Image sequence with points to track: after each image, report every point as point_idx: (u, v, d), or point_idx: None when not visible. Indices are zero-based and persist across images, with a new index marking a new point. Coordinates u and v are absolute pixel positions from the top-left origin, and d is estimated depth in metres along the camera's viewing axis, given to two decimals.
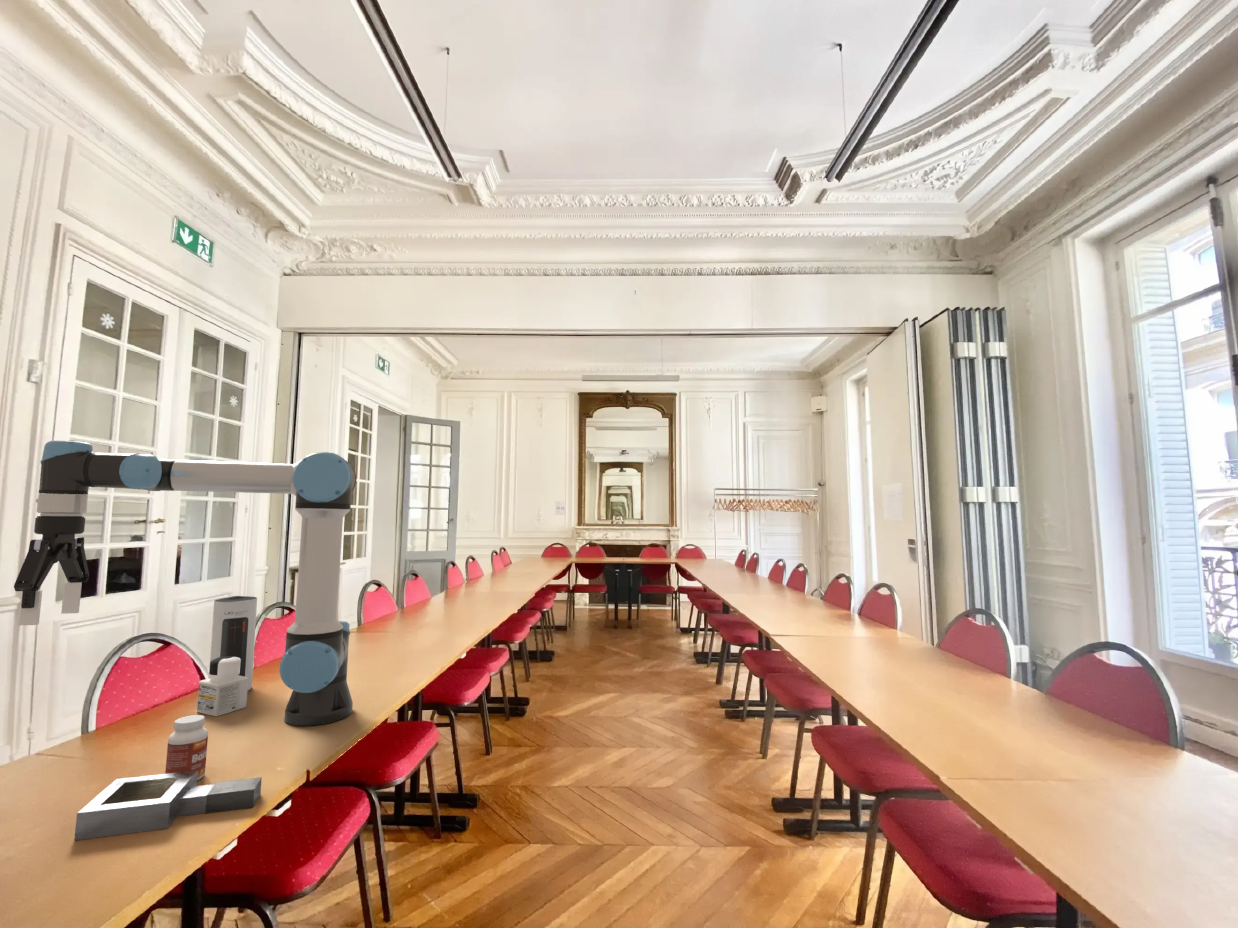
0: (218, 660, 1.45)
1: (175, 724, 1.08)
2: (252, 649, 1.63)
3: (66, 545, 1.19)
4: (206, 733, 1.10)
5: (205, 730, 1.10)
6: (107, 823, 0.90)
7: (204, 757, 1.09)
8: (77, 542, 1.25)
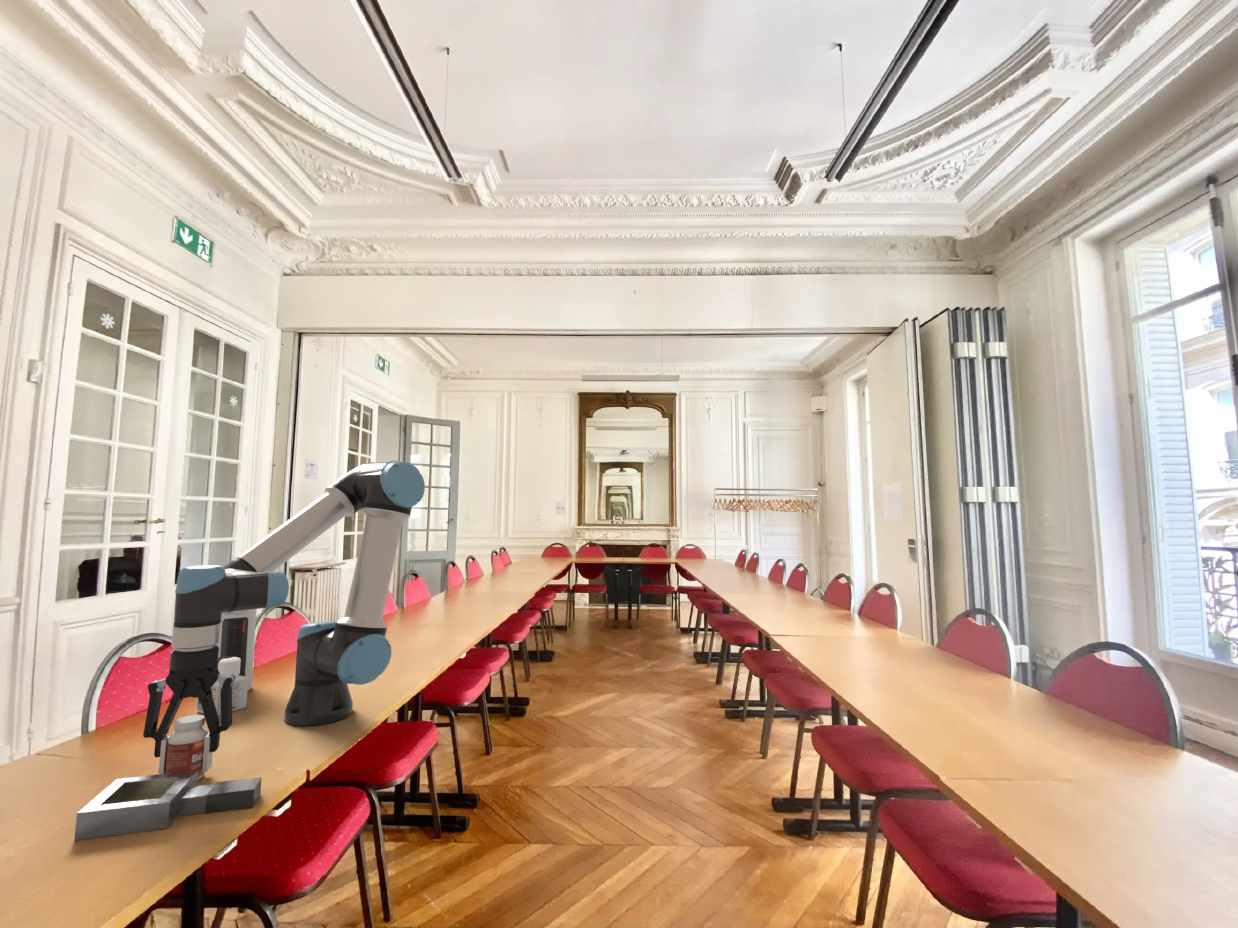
0: (218, 660, 1.45)
1: (175, 724, 1.08)
2: (252, 649, 1.63)
3: (181, 683, 1.08)
4: (206, 733, 1.10)
5: (205, 730, 1.10)
6: (107, 823, 0.90)
7: None
8: (224, 682, 1.11)
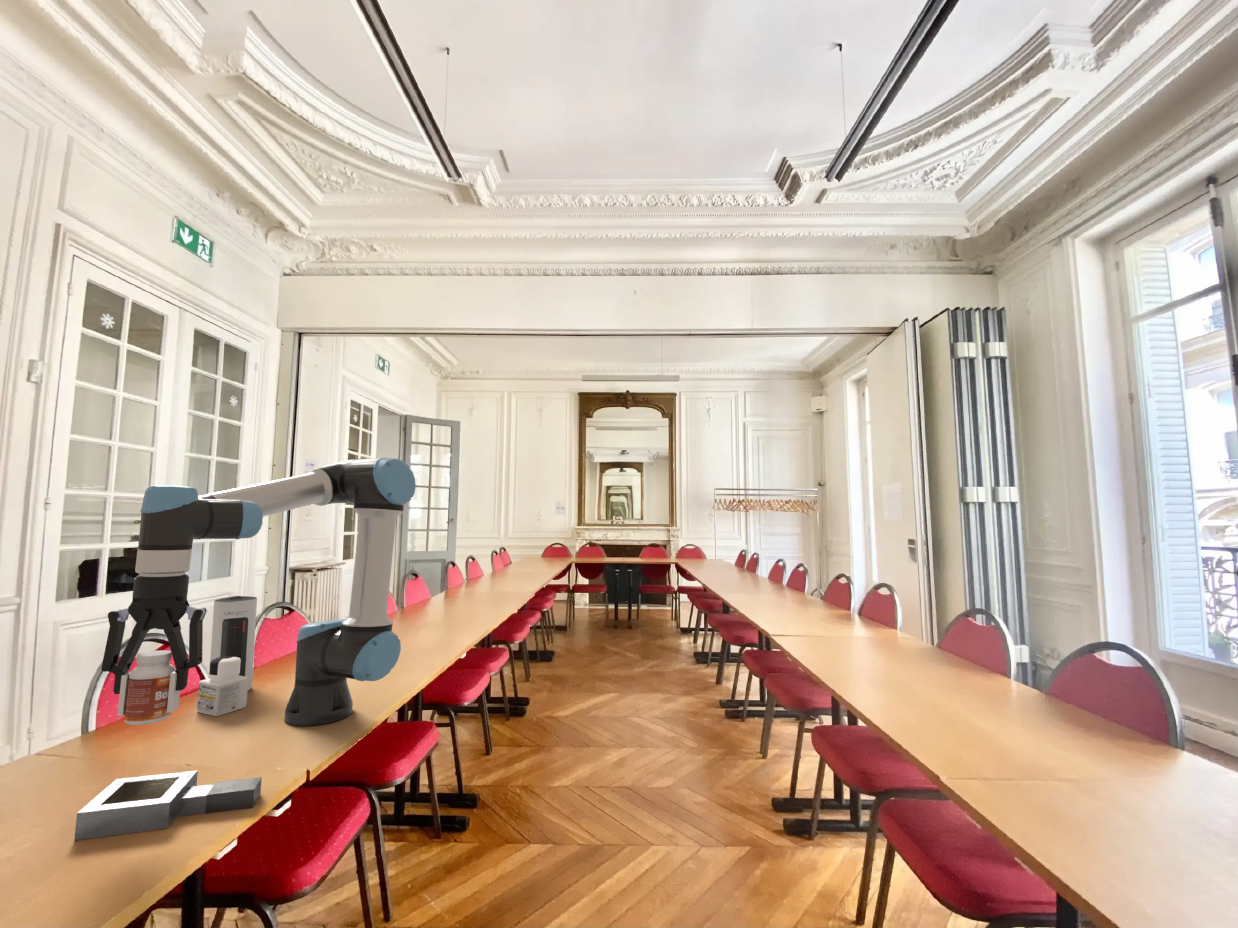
0: (218, 660, 1.45)
1: (137, 657, 0.97)
2: (252, 649, 1.63)
3: (144, 612, 0.97)
4: (172, 669, 0.99)
5: (171, 666, 0.99)
6: (107, 823, 0.90)
7: None
8: None
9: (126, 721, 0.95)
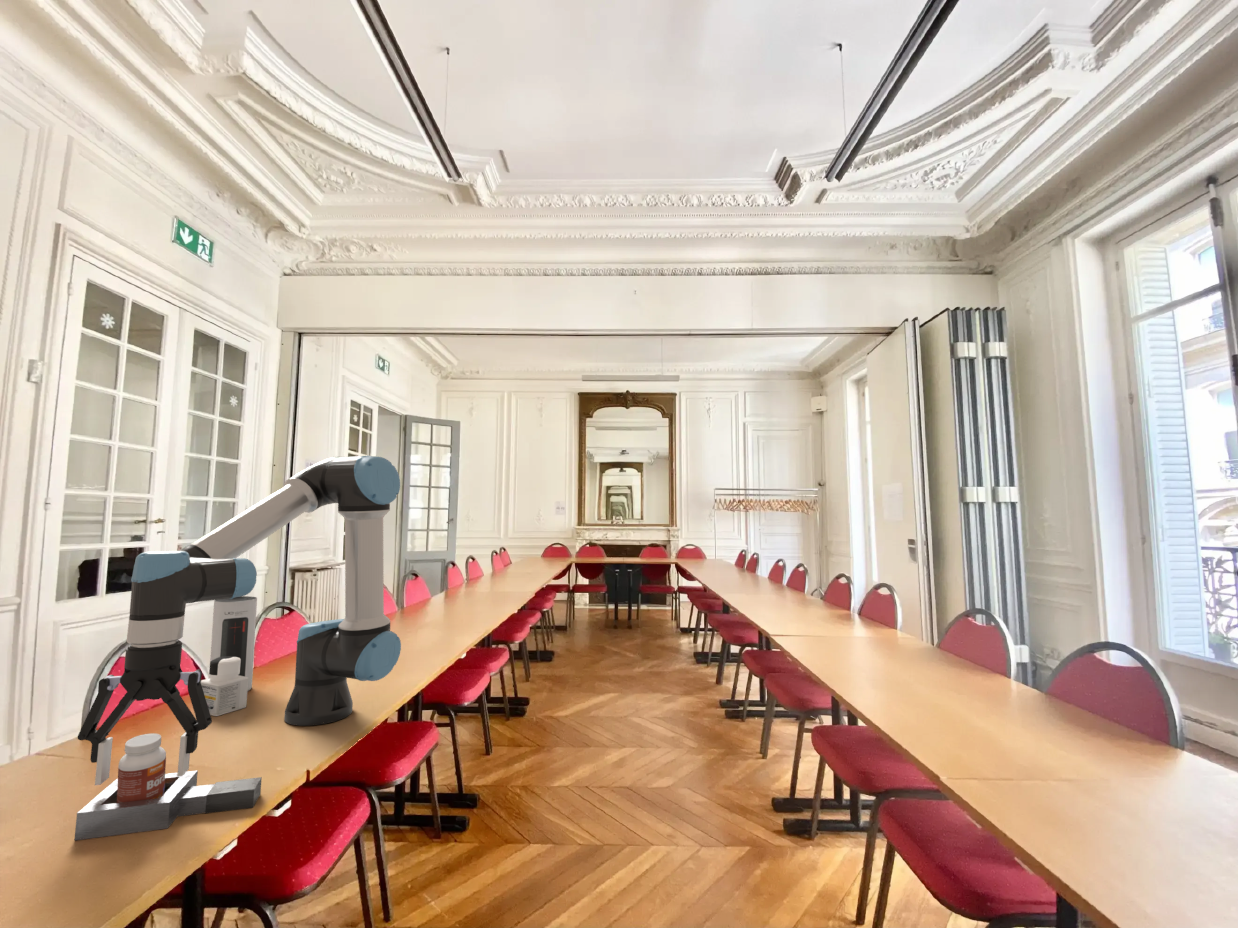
0: (218, 660, 1.45)
1: (126, 747, 0.94)
2: (252, 649, 1.63)
3: (137, 683, 0.95)
4: (163, 755, 0.97)
5: (162, 752, 0.97)
6: (107, 823, 0.90)
7: (162, 781, 0.96)
8: None
9: None
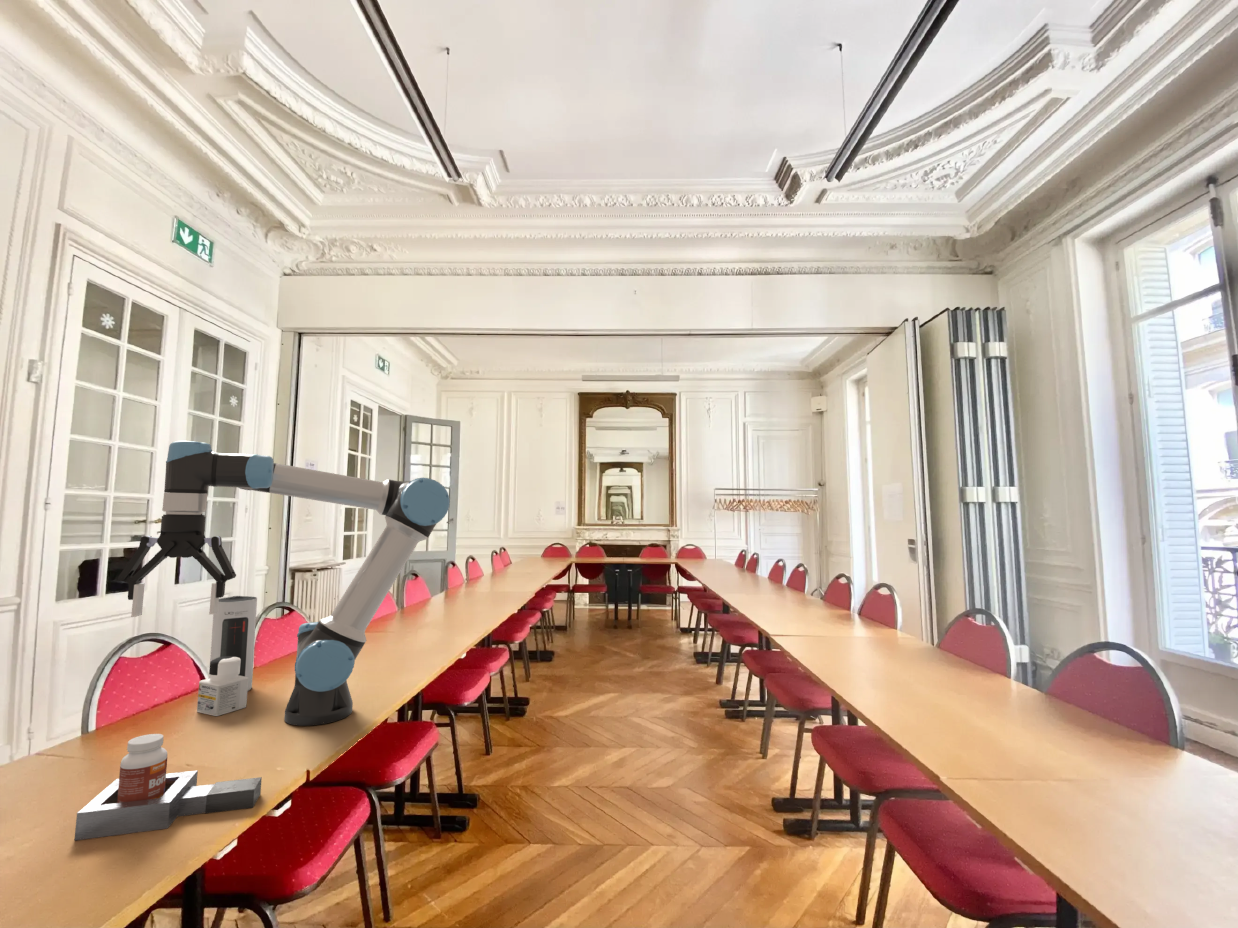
0: (218, 660, 1.45)
1: (129, 745, 0.95)
2: (252, 649, 1.63)
3: (171, 543, 1.20)
4: (165, 754, 0.97)
5: (164, 751, 0.98)
6: (107, 823, 0.90)
7: (163, 781, 0.97)
8: None
9: None
